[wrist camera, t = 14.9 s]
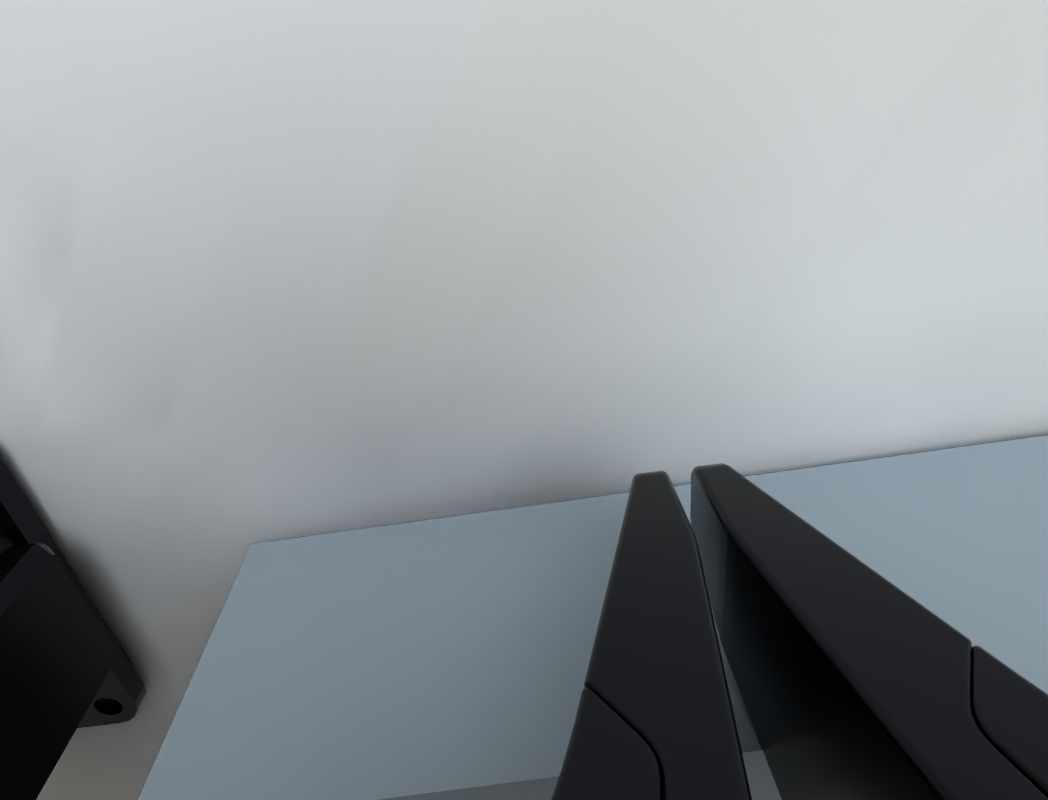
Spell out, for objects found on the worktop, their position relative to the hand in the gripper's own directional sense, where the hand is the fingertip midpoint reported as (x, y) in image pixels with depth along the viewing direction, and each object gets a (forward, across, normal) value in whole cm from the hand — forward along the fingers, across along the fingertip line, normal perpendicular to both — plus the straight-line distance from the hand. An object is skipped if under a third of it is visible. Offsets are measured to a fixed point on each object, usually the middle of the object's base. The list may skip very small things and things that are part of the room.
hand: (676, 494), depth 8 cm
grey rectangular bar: (+2, -1, +2) cm, 3 cm away
